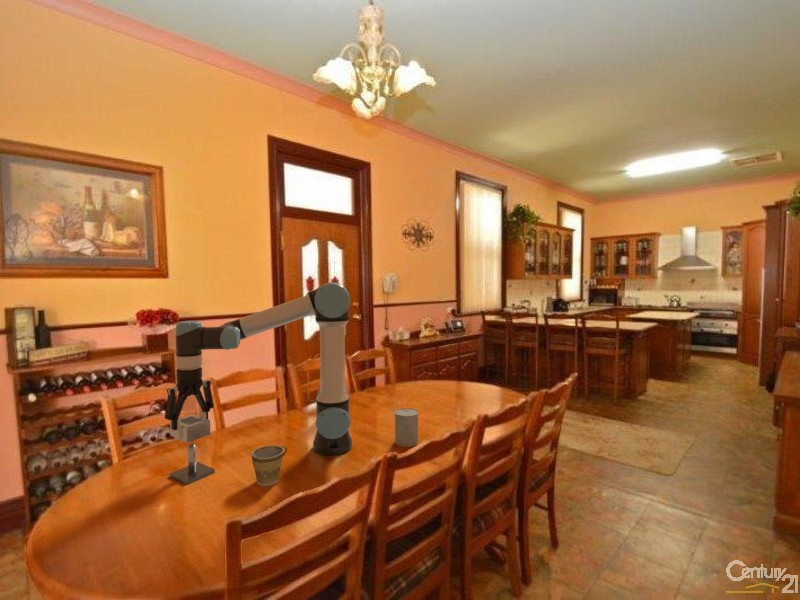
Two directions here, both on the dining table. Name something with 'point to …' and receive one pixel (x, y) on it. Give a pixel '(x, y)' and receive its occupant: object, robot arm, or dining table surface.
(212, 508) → the dining table surface
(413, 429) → the gray cylinder
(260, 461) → the ceramic cup
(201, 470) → the keeper
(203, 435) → the grey block with hole
